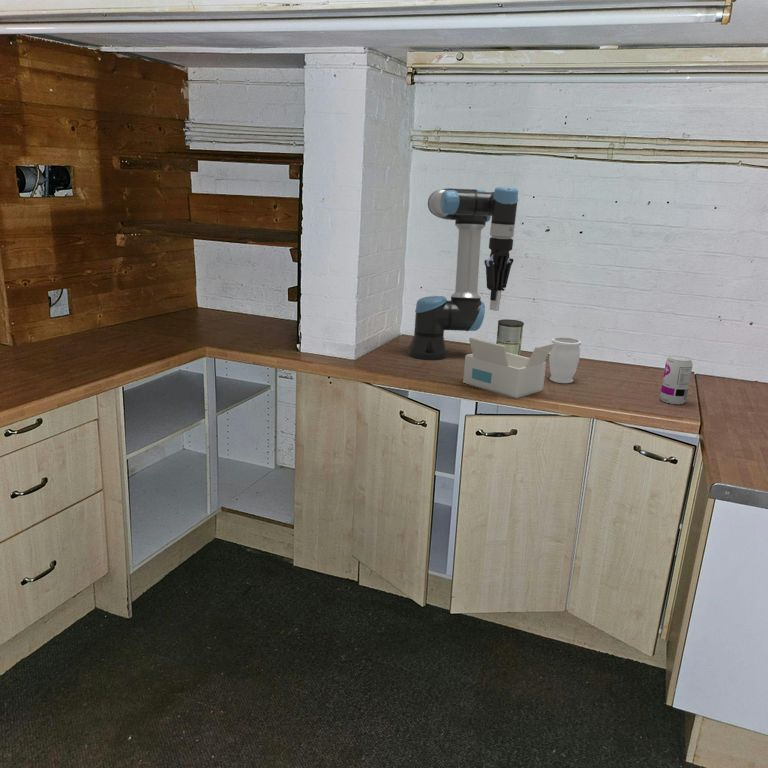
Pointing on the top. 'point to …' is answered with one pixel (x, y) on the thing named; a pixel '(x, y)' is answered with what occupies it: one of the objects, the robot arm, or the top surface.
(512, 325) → the coffee can
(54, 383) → the top surface
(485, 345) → the front flap
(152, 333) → the top surface
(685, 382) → the supplement can
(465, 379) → the carton
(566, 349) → the jar
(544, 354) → the end flap
